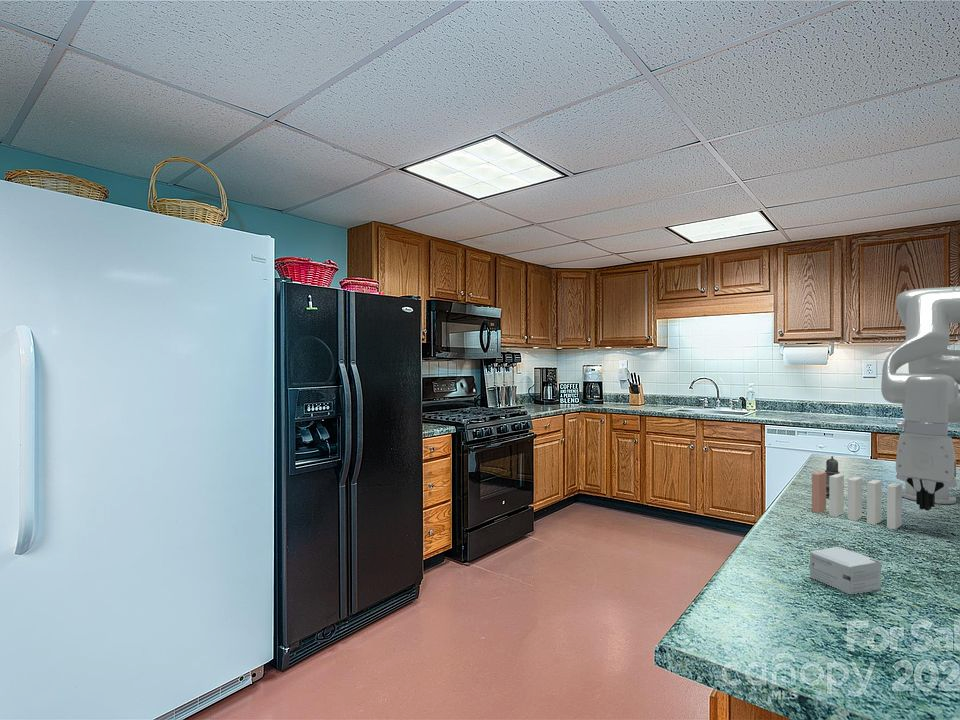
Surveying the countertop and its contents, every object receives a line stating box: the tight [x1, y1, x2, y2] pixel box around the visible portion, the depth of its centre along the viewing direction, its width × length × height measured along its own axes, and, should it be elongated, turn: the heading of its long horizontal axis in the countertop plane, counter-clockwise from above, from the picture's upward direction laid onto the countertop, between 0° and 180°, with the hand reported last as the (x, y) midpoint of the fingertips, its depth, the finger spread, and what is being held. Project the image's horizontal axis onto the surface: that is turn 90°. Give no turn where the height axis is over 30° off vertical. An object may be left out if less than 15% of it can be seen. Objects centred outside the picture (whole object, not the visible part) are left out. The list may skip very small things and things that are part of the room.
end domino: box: [811, 470, 827, 514], centre depth 137 cm, size 5×2×10 cm, turn 127°
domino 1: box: [828, 473, 845, 518], centre depth 134 cm, size 5×2×10 cm, turn 127°
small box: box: [809, 546, 882, 595], centre depth 93 cm, size 8×8×5 cm
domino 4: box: [886, 482, 903, 530], centre depth 124 cm, size 5×2×10 cm, turn 127°
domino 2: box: [847, 476, 863, 522], centre depth 131 cm, size 5×2×10 cm, turn 128°
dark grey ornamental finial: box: [824, 455, 841, 499], centre depth 150 cm, size 6×6×12 cm
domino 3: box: [866, 479, 883, 526], centre depth 127 cm, size 5×2×10 cm, turn 127°
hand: (925, 508), depth 120 cm, fingers closed
